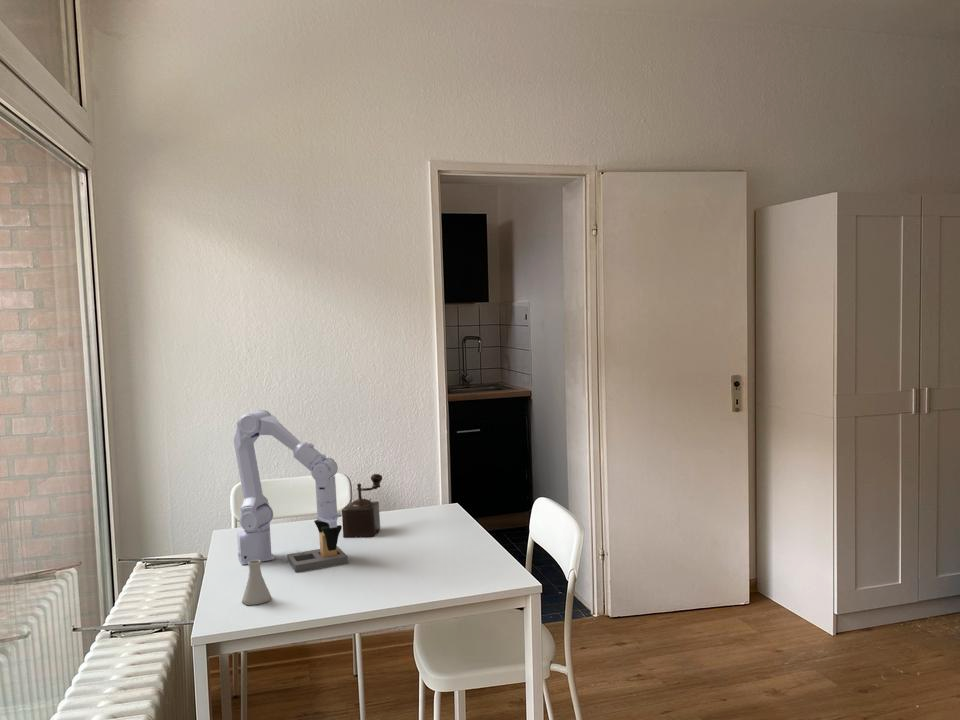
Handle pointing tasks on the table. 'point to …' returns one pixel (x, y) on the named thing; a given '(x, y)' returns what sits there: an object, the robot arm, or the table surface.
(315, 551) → the socket block
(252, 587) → the flask
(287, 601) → the table surface
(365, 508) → the manual coffee grinder
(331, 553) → the plug
